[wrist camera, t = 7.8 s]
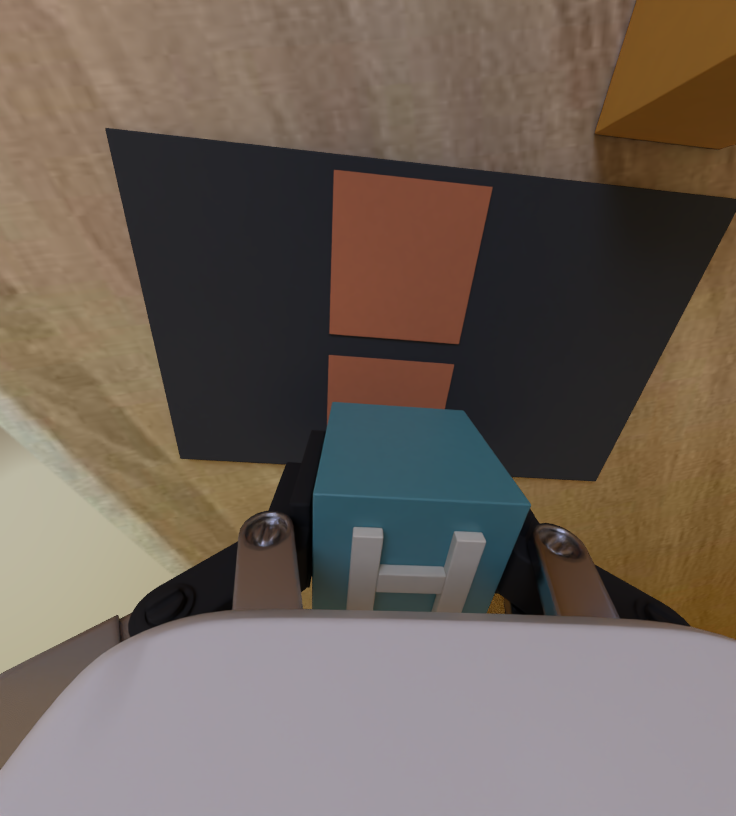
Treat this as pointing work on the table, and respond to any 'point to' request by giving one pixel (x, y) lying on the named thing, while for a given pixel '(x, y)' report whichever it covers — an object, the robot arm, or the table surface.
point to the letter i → (675, 75)
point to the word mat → (403, 295)
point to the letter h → (410, 512)
